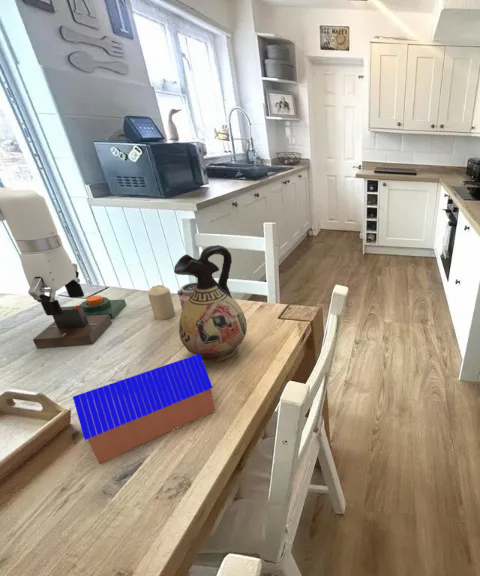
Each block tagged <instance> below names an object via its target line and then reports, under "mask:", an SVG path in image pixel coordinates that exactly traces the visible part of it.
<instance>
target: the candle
mask: <svg viewBox="0 0 480 576" xmlns="http://www.w3.org/2000/svg"><path fill="white" fill-rule="evenodd" d="M147 296H148V300H149V303H150V306H151V311H152V314H153V318H154V319H156V320H158V321H162V320H168V319H171V318H173V317H174V316H176V310H175V307H174V303H173V302H174V301H173V298H172V295H171V289H170V288H169V287H167V286H165V285H164V284H157V285H153V286H151V288H150V289H149V290H148V291H147Z"/></svg>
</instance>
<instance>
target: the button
mask: <svg viewBox="0 0 480 576" xmlns="http://www.w3.org/2000/svg"><path fill="white" fill-rule="evenodd" d="M102 297H103V296H102V295H99V294H98V295H91V296H88V297H87V298H86V299H85V301H87V304H88V305H97V304H100V303H102V302H103V299H102Z"/></svg>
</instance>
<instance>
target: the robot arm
mask: <svg viewBox="0 0 480 576" xmlns="http://www.w3.org/2000/svg"><path fill="white" fill-rule="evenodd" d="M4 221H5V223H6V224H7V226H8V229H9V230H10V233H11V235H12V238H13V240H14V242H15V243H16V246H17V248H18V250H19V252H20V256H19V257H20V262H21V263H20V264H21V268H22V271H23V274H24V276H25V280H26V281H27V284H28V286H29V289H28V290H27V293H28V295H29V296H31V297H32V298H33V300H34V301H36V302H38V303H40V305H41V306H42V309H43V310H44V313H45V315H46V316H48V317H49V316H52V315H61V314H63V311H62V309H61V307H62V306H61V305H60V302H59V300H58V299H56V293H57V291H59V290H60V289H62V288H63V287H64V288H65V289H66V292H67V295H68V297H69V298H71V299H73V298H83V297H85V293H84V291H83V289H82V286H81V283H80V282H81V280H80V278H79V275H80V274H79V271H78V264H77V263H73V262H72V260H71V258H70V256H69V254H68V252H67V250H66V248H65V247H64V244H63V241H62V238H61V236H60V233H59V231H58V228H57V227H56V223H55V221H54V219H53V216H52V214H51V211H50V209H49V206H48V204H47V201H46V199H45V197H44V195H43V194H42V193H41V192H40V191H38V190H34V189H11V188H6V187H0V222H4ZM45 293H48V295H46V294H45Z"/></svg>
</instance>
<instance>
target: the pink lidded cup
mask: <svg viewBox="0 0 480 576" xmlns="http://www.w3.org/2000/svg"><path fill="white" fill-rule="evenodd" d="M197 284H198V281H197V282H190V283H186V284H184V285H182V286H181V287H180V289H178V290H177V293H176V294H177V296H178V298H179V302H180V306H181V312H182V311H183V308H184V306H185V304H186V303H187V301H188V299H189V297H190V295H191V294H192V292H193V291H194V289H195V288H196V286H197Z"/></svg>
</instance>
